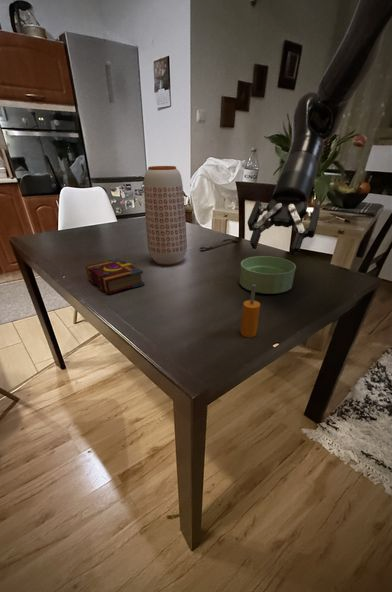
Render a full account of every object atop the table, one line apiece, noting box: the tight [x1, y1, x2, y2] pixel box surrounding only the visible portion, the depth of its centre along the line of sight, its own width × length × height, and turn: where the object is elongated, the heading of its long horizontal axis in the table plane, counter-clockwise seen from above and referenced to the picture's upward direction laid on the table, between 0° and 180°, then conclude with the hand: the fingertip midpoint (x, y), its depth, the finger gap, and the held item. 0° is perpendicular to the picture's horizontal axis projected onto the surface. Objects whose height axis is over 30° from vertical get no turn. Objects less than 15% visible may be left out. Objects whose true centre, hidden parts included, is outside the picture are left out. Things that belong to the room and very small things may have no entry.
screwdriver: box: [240, 285, 261, 338], centre depth 58 cm, size 3×3×11 cm
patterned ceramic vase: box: [143, 165, 188, 267], centre depth 91 cm, size 13×13×28 cm
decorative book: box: [85, 257, 145, 295], centre depth 83 cm, size 11×16×5 cm
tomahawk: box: [199, 238, 239, 250], centre depth 115 cm, size 21×7×1 cm, turn 132°
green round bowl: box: [238, 255, 297, 295], centre depth 80 cm, size 15×15×6 cm
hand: (272, 249), depth 60 cm, fingers open, 8 cm apart
